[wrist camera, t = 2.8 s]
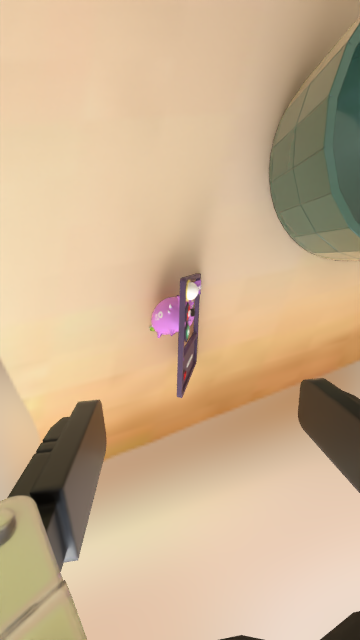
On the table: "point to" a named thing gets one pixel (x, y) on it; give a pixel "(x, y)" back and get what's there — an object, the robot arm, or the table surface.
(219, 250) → the table surface
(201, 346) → the table surface
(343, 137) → the bowl
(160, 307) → the game card
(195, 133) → the table surface
